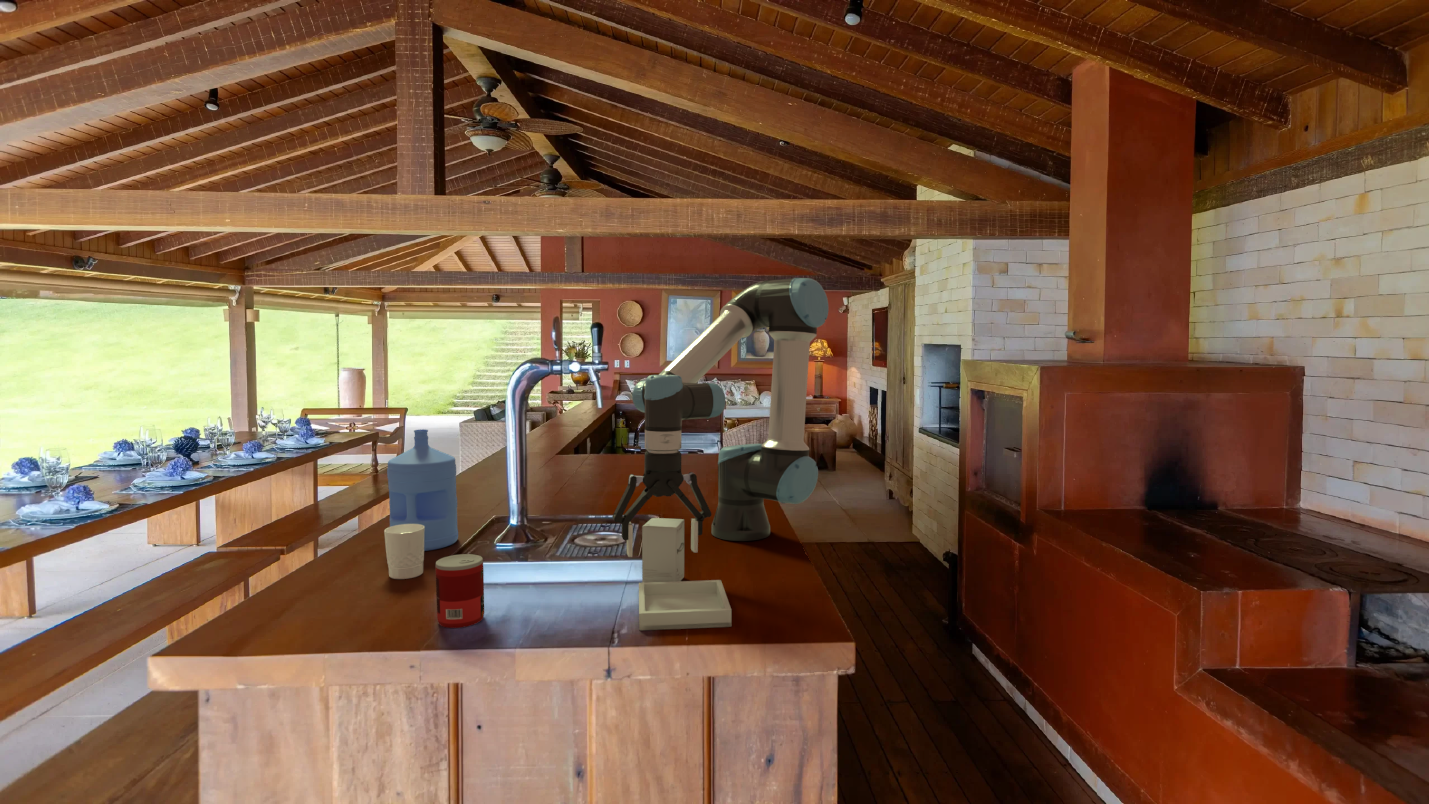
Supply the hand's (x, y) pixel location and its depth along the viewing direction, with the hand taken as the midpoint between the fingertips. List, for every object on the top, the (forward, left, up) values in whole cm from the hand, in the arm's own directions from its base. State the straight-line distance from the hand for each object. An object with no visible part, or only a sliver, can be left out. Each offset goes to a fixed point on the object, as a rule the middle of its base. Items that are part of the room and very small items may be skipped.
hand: (662, 553), depth 150 cm
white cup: (+31, -46, -6) cm, 56 cm away
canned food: (+38, -14, -6) cm, 41 cm away
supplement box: (0, 0, -6) cm, 6 cm away
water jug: (+16, -65, -6) cm, 67 cm away
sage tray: (+10, +14, -6) cm, 18 cm away
